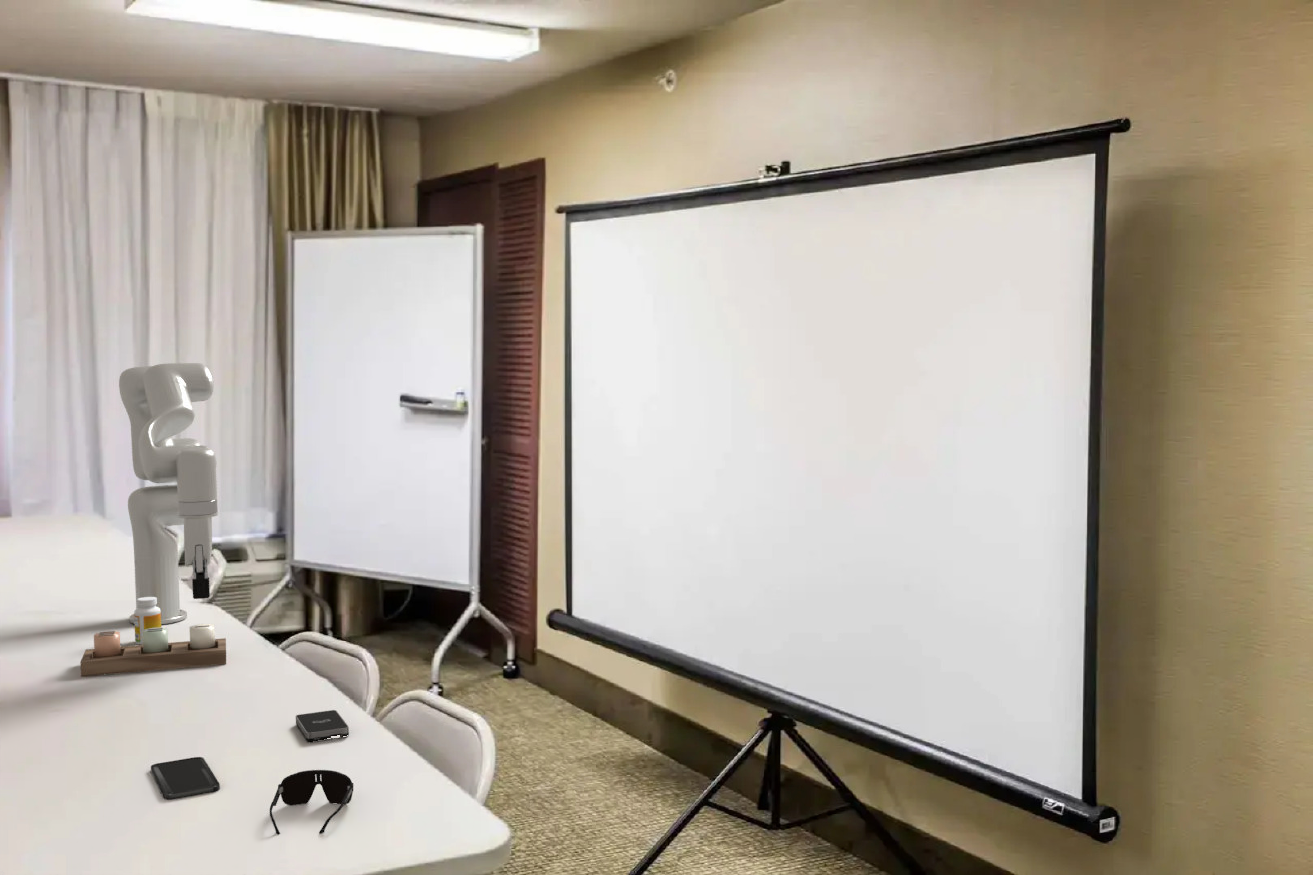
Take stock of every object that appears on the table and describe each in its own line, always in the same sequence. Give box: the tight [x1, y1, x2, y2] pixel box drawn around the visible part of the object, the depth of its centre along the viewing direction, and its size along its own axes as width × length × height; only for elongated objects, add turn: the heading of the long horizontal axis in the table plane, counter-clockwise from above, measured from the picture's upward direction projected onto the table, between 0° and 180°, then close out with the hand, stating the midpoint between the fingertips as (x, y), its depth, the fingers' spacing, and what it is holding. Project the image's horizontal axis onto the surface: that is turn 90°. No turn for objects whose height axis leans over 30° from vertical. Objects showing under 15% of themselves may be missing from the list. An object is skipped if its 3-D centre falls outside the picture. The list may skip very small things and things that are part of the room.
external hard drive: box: [295, 709, 350, 743], centre depth 209 cm, size 7×11×2 cm, turn 26°
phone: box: [150, 756, 221, 801], centre depth 186 cm, size 8×1×15 cm
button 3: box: [93, 630, 121, 657], centre depth 248 cm, size 5×5×4 cm
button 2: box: [142, 627, 169, 653], centre depth 251 cm, size 5×5×4 cm
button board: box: [79, 637, 227, 677], centre depth 251 cm, size 10×27×3 cm, turn 109°
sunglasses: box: [269, 769, 354, 836], centre depth 171 cm, size 10×12×5 cm
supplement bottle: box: [133, 597, 162, 645], centre depth 269 cm, size 5×5×10 cm
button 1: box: [189, 623, 216, 649], centre depth 254 cm, size 5×5×4 cm
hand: (201, 597), depth 253 cm, fingers closed
